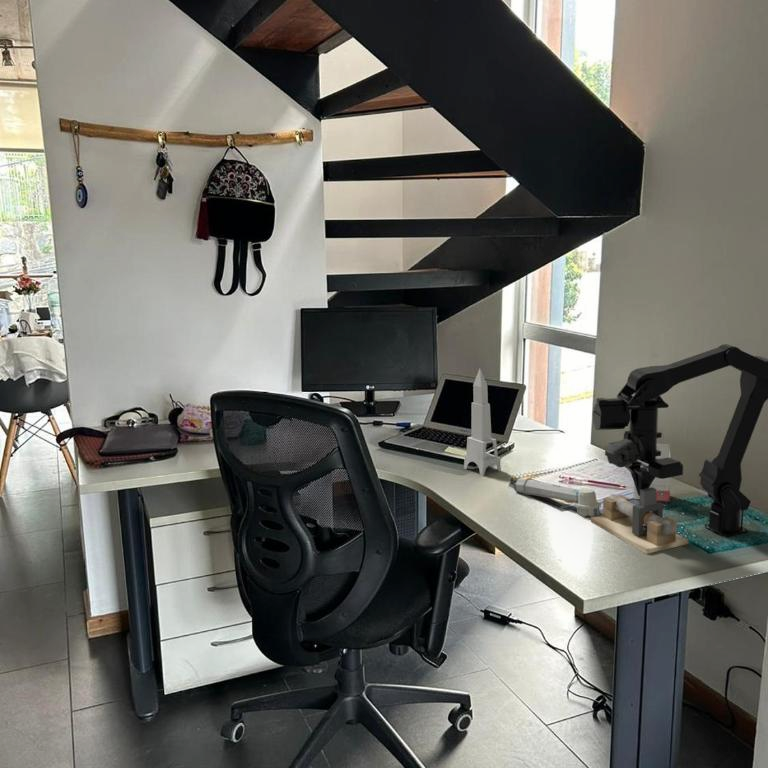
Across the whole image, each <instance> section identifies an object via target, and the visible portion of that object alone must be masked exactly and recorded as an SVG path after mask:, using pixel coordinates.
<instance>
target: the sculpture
mask: <svg viewBox="0 0 768 768" xmlns="http://www.w3.org/2000/svg"><path fill="white" fill-rule="evenodd" d="M472 387H473V389H472V391H473V392H472V393H473V402H471V415H470V416H471V422H470V423H471V425H470V426H471V430H470V431H471V436H467V439H466V454H464V462H463V469H465V470H467V468H468V465H469V463H471V462H472V463H475V464H476V466H477V467H478V469H479V476H483V477H484V476H485V474H486V470H487V468H488V467H489V466H491V465H495V466H496V467H497V470H498V471H499V472H501V471H502V469H501V468H502V467H501V457H499V455H498V445H497V444H498V443H497V439H496V438H492V423H491V419H492V417H491V404H490V403H489V402H488V401H489V399H488V397H489V394H488V383H487V381H486V379H485V377H484V373H483V372H482V369H481V368H478V372H477V374H476V377H475V379H474V382H473V385H472ZM487 444H492V446H493V447H492V448H493V453H494V454H491V453H489V452H487V451H486V450H487Z"/></svg>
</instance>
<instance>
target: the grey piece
mask: <svg viewBox="0 0 768 768" xmlns="http://www.w3.org/2000/svg"><path fill="white" fill-rule="evenodd" d="M513 488H514V489H513V490H514V491H515V492H516V493H519V494H523V495H526V496H535V497H543V498H548V499H554V500H561V501H568V502H573V503H574V507H575V508H576V513H577V515H579V517H583V518H584V517H585V518H586V517H587V516H590V518H592V517H597V516H601V510H600V508H601V504H602V503H601V501H599V500H597V495H596V492H595V490H594V489H589V488H584V489H583V488H582V489H577V488H572V487H567V486H562V485H560V484H554V483H551V482H550V483H549V482H544V481H540V480H537V479H536V480H535V479H534V478H533V479H532V477H528V478H523V477H518V478H515V480H514V483H513Z"/></svg>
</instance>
